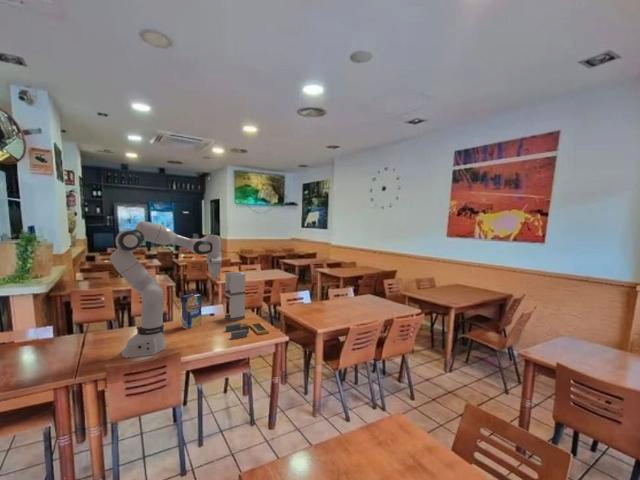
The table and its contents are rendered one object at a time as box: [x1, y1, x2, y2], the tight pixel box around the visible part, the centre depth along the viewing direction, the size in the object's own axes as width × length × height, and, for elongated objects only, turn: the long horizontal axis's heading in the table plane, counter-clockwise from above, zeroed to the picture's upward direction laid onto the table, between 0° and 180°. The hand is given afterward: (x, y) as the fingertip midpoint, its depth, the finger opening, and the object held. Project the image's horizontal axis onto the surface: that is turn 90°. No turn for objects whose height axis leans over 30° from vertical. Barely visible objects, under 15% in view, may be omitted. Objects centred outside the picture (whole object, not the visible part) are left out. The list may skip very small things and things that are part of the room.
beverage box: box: [181, 293, 202, 330], centre depth 221 cm, size 7×11×22 cm, turn 148°
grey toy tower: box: [224, 271, 246, 322], centre depth 241 cm, size 11×11×35 cm
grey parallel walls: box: [225, 322, 248, 340], centre depth 210 cm, size 10×16×4 cm, turn 31°
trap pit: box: [249, 321, 270, 336], centre depth 219 cm, size 8×18×2 cm, turn 31°
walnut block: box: [238, 323, 250, 334], centre depth 213 cm, size 5×5×5 cm
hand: (213, 279), depth 204 cm, fingers closed
